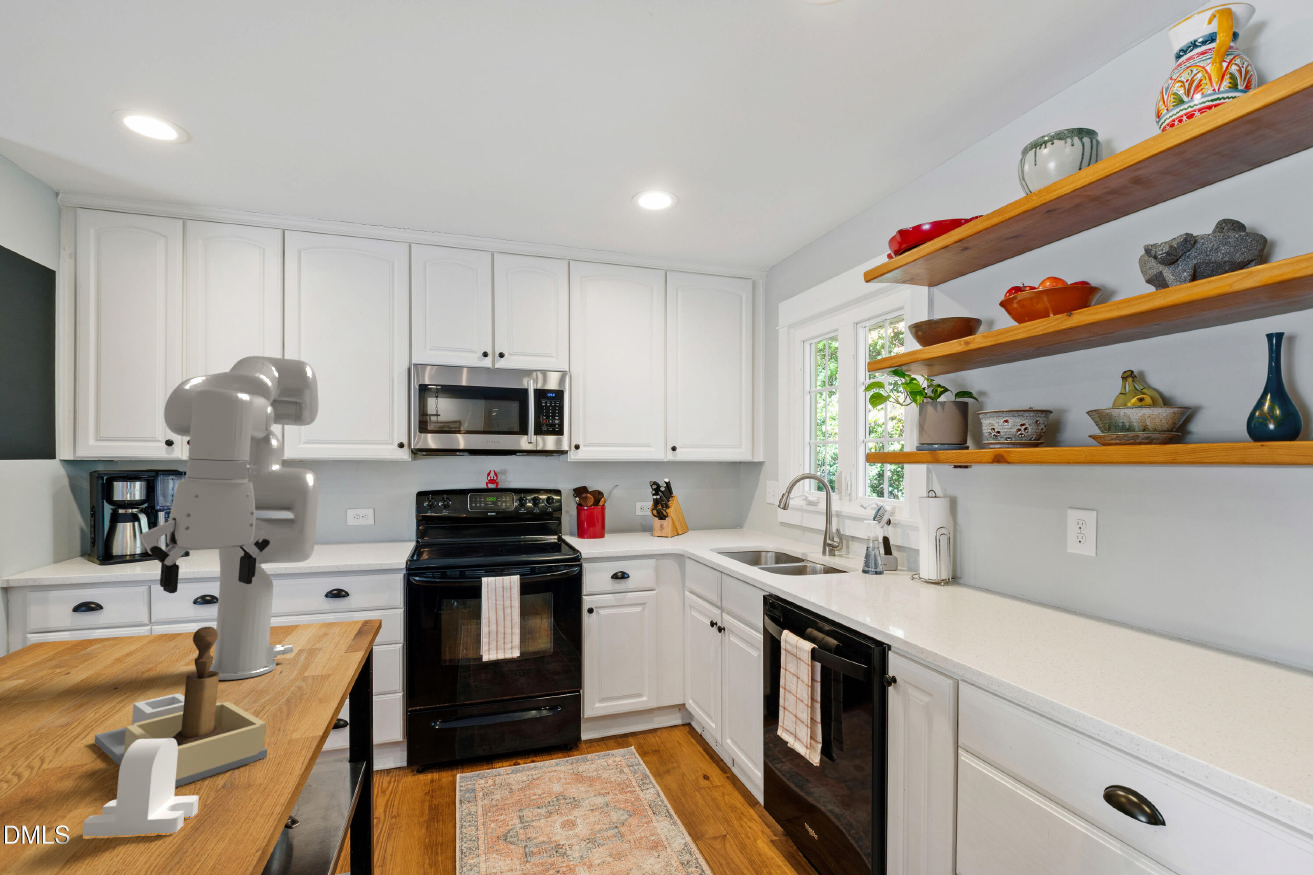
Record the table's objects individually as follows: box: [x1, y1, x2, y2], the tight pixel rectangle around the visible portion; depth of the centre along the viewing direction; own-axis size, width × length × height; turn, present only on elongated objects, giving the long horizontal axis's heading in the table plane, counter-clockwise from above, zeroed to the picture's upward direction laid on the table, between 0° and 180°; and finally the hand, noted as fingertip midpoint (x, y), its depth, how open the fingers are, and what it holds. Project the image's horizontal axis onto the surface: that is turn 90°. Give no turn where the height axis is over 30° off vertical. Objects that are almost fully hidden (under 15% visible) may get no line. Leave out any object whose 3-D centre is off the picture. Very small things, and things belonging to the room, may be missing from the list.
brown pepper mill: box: [172, 626, 224, 746], centre depth 92 cm, size 7×6×18 cm
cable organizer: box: [82, 738, 200, 836], centre depth 76 cm, size 5×10×10 cm, turn 100°
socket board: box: [94, 692, 268, 788], centre depth 94 cm, size 14×24×5 cm, turn 55°
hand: (209, 587), depth 93 cm, fingers open, 9 cm apart
